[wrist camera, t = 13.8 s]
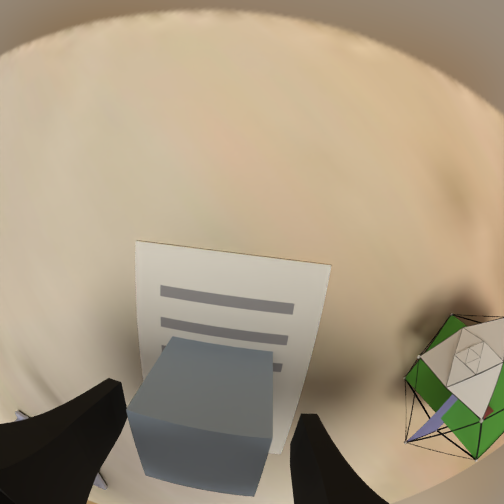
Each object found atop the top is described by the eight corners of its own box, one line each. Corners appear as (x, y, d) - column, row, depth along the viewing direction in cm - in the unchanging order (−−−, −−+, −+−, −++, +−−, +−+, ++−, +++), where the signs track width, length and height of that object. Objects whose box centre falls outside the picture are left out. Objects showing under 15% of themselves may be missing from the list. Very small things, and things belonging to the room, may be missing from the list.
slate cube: (175, 404, 13) (145, 475, 8) (172, 336, 12) (126, 409, 7) (259, 418, 12) (254, 496, 8) (272, 351, 11) (272, 438, 7)
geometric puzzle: (526, 345, 9) (582, 380, 2) (458, 432, 10) (462, 512, 4) (450, 284, 13) (475, 280, 6) (385, 377, 14) (352, 437, 8)
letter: (152, 431, 14) (151, 432, 13) (136, 240, 11) (135, 240, 11) (280, 453, 13) (281, 454, 13) (331, 264, 11) (331, 265, 11)
